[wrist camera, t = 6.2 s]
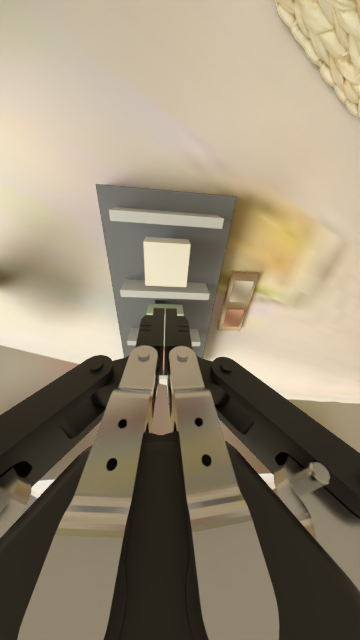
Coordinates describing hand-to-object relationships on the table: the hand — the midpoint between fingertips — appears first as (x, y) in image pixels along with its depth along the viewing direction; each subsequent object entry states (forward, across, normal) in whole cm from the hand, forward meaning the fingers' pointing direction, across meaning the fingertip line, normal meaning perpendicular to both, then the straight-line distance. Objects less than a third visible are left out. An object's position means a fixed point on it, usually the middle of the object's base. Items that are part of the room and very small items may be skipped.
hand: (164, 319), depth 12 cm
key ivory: (+15, 0, 0) cm, 15 cm away
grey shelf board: (+18, 0, +9) cm, 20 cm away
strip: (+18, -13, +9) cm, 24 cm away
